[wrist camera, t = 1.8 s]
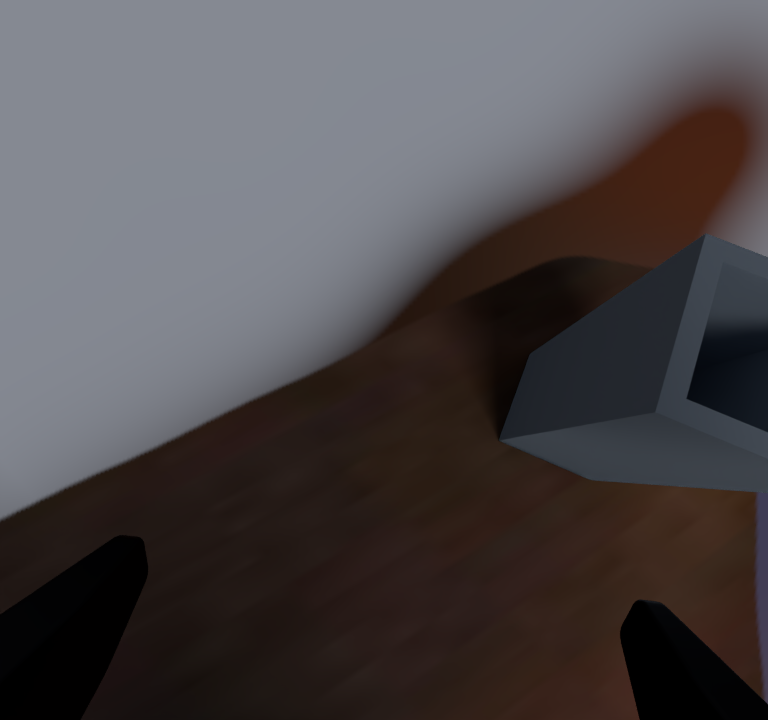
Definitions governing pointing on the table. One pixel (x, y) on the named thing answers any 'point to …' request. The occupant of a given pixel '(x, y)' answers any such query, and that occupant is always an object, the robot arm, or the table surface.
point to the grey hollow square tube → (659, 379)
